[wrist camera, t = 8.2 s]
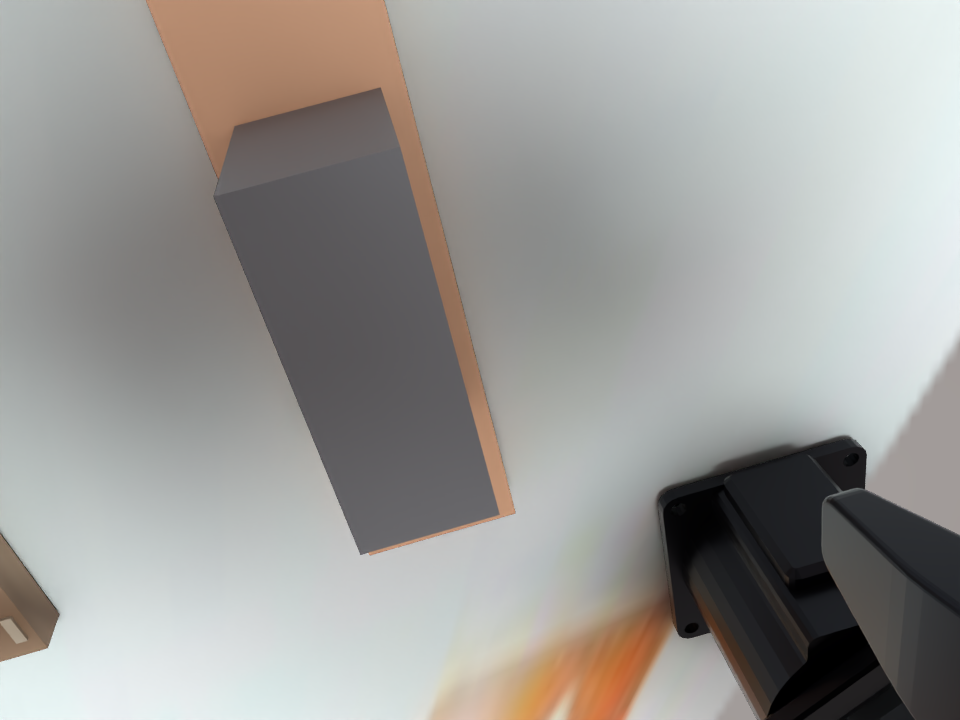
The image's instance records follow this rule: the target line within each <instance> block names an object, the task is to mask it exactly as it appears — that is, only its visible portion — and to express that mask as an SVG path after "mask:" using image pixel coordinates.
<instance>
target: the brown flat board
mask: <svg viewBox="0 0 960 720" xmlns="http://www.w3.org/2000/svg"><path fill="white" fill-rule="evenodd" d="M58 617H59V613H58V612H57V610H56V609H55V608H54V606H53V605H52V604H51V602H50V601H49V600H48V598H47V597H46V595H45V594H44V593H43V591H42V590H41V589H40V587H39V586H38V585H37V583H36V582H35V580H34V579H33V578H32V576H31V575H30V574H29V572H28V571H27V570H26V568H25V567H24V565H23V564H22V563H21V561H20V560H19V559H18V557H17V556H16V555H15V553H14V552H13V550H12V549H11V548H10V546H9V545H8V544H7V542H6V541H5V540H4V538H3V537H2V535H1V534H0V662H1V661H5V660H8V659H12V658H15V657H19V656H22V655H26V654H29V653H33V652H36V651H40V650H43V649H46V648H48V646H49V643H50V640H51V637H52V634H53V631H54V628H55V625H56V623H57V620H58Z"/></svg>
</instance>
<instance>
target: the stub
mask: <svg viewBox="0 0 960 720" xmlns="http://www.w3.org/2000/svg"><path fill="white" fill-rule="evenodd" d="M146 2H147V4H148V7H149V9H150V12H151V14H152V17H153V19H154V22H155V24H156V27H157V29H158V32H159V34H160V37H161V39H162V42H163V44H164V46H165V49H166V51H167V54H168V56H169V59H170V61H171V64H172V66H173V69H174V71H175V74H176V76H177V79H178V81H179V84H180V86H181V89H182V91H183V94H184V96H185V99H186V101H187V104H188V106H189V109H190V111H191V113H192V116H193V118H194V121H195V123H196V126H197V128H198V131H199V133H200V136H201V138H202V141H203V143H204V146H205V148H206V151H207V153H208V156H209V158H210V161H211V163H212V166H213V168H214V171H215V173H216V176H217V178H218V183H217V187H216V190H215V193H214V199H215V202H216V204H217V207H218V209H219V211H220V214H221V216H222V219H223V221H224V224H225V226H226V228H227V231H228V233H229V236H230V238H231V241H232V243H233V246H234V248H235V250H236V253H237V255H238V258H239V260H240V263H241V265H242V267H243V270H244V272H245V275H246V277H247V280H248V282H249V284H250V287H251V289H252V292H253V294H254V297H255V299H256V301H257V304H258V306H259V309H260V311H261V314H262V316H263V319H264V321H265V323H266V326H267V328H268V331H269V333H270V336H271V338H272V340H273V343H274V345H275V348H276V350H277V353H278V355H279V357H280V360H281V362H282V365H283V367H284V370H285V372H286V374H287V377H288V379H289V382H290V384H291V387H292V389H293V391H294V394H295V396H296V399H297V401H298V404H299V406H300V409H301V411H302V413H303V416H304V418H305V421H306V423H307V426H308V428H309V430H310V433H311V435H312V438H313V440H314V443H315V445H316V447H317V450H318V452H319V455H320V457H321V460H322V462H323V464H324V467H325V469H326V472H327V474H328V477H329V479H330V482H331V484H332V486H333V489H334V491H335V494H336V496H337V499H338V501H339V503H340V506H341V508H342V511H343V513H344V516H345V518H346V520H347V523H348V525H349V528H350V530H351V533H352V535H353V537H354V540H355V542H356V545H357V547H358V550H359V552H360V555H362V554H365V553H369V555H373V554H376V553H380V552H383V551H387V550H390V549H394V548H397V547H401V546H404V545H408V544H411V543H414V542H418V541H421V540H425V539H428V538H432V537H435V536H439V535H442V534H446V533H449V532H453V531H456V530H460V529H463V528H467V527H470V526H473V525H477V524H480V523H484V522H487V521H491V520H494V519H498V518H501V517H505V516H508V515H512V514H515V509H514V505H513V501H512V497H511V493H510V489H509V485H508V482H507V478H506V474H505V470H504V466H503V462H502V458H501V454H500V450H499V446H498V443H497V439H496V435H495V431H494V427H493V423H492V419H491V415H490V411H489V407H488V403H487V400H486V396H485V392H484V388H483V384H482V380H481V376H480V372H479V368H478V364H477V361H476V357H475V353H474V349H473V345H472V341H471V337H470V333H469V329H468V325H467V322H466V318H465V314H464V310H463V306H462V302H461V298H460V294H459V290H458V286H457V283H456V279H455V275H454V271H453V267H452V263H451V259H450V255H449V251H448V247H447V244H446V240H445V236H444V232H443V228H442V224H441V220H440V216H439V212H438V208H437V205H436V201H435V197H434V193H433V189H432V185H431V181H430V177H429V173H428V169H427V166H426V162H425V158H424V154H423V150H422V146H421V142H420V138H419V134H418V130H417V126H416V123H415V119H414V115H413V111H412V107H411V103H410V99H409V95H408V91H407V87H406V84H405V80H404V76H403V72H402V68H401V64H400V60H399V56H398V52H397V48H396V45H395V41H394V37H393V33H392V29H391V25H390V21H389V17H388V13H387V9H386V6H385V2H384V0H146Z"/></svg>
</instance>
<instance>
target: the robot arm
mask: <svg viewBox="0 0 960 720" xmlns="http://www.w3.org/2000/svg"><path fill="white" fill-rule="evenodd" d="M847 455H848V456H847ZM846 456H847V457H846ZM866 459H867V454H866V451H865V450H864V449H863V447H862V446H861V445H860V444H859V443H858V442H857V441H856V440H853V439H844V440H841V441H837V442H834V443H830V444H827V445H824V446H820V447H817V448H813V449H810V450H806V451H803V452H799V453H796V454H792V455H789V456H785V457H782V458H779V459H775V460H772V461H768V462H765V463H761V464H758V465H754V466H751V467H747V468H744V469H740V470H737V471H734V472H730V473H727V474H723V475H720V476H716V477H713V478H709V479H706V480H702V481H699V482H696V483H692V484H689V485H685V486H682V487H678V488H675V489H672V490H669V491H667V492H666V493H665V494H663V495H662V496H661V498H660V500H659V503H658V509H659V517H660V524H661V532H662V540H663V548H664V556H665V564H666V572H667V579H668V587H669V595H670V603H671V611H672V619H673V624H674V626H675V628H676V630H677V632H678V634H679V636H680V637H682V638H693V637H696V636H700V635H703V634H706V633H710V632H711V633H712V635H713V637H714V639H715V641H716V643H717V645H718V647H719V649H720V651H721V652H722V654H723V656H724V658H725V660H726V662H727V664H728V666H729V668H730V669H731V671H732V673H733V675H734V677H735V679H736V681H737V683H738V685H739V687H740V688H741V690H742V692H743V694H744V696H745V698H746V700H747V702H748V703H749V705H750V707H751V709H752V711H753V713H754V715H755V716H756V719H757V720H960V535H958V534H956V533H954V532H952V531H950V530H948V529H946V528H944V527H942V526H940V525H938V524H936V523H934V522H932V521H930V520H928V519H925V518H923V517H921V516H919V515H917V514H915V513H913V512H911V511H908V510H907V509H905V508H902V507H901V506H899V505H897V504H895V503H892V502H890V501H888V500H886V499H884V498H882V497H880V496H878V495H876V494H874V493H872V492H870V491H867V490H865V477H866ZM679 503H680V504H679ZM676 504H679V505H678V506H676V507H674V508H672V507H673V506H674V505H676Z"/></svg>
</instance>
